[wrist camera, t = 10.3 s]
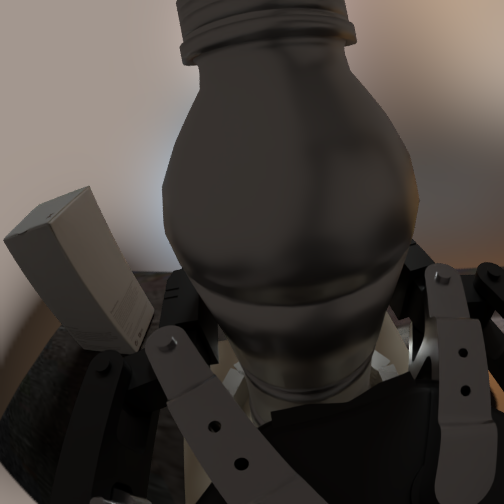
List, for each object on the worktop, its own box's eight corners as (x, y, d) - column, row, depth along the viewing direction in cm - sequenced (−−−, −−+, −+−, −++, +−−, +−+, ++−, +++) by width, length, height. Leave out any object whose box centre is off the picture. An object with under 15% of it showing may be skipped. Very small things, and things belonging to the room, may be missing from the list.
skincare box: (157, 311, 30) (95, 182, 21) (137, 360, 25) (48, 222, 16) (101, 310, 31) (40, 200, 23) (79, 352, 26) (-1, 237, 17)
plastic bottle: (383, 422, 14) (458, -12, 3) (288, 483, 12) (102, -84, 1) (326, 359, 19) (299, 16, 8) (240, 405, 17) (107, 43, 6)
